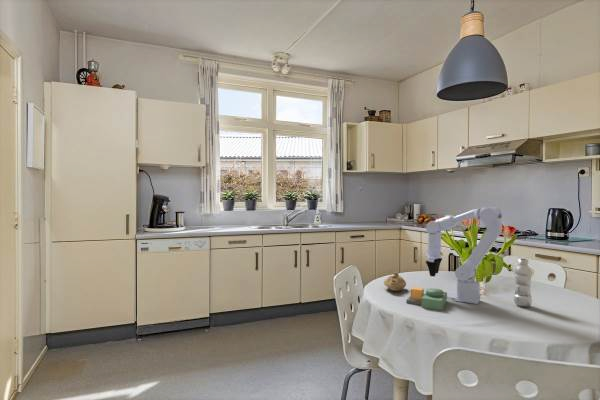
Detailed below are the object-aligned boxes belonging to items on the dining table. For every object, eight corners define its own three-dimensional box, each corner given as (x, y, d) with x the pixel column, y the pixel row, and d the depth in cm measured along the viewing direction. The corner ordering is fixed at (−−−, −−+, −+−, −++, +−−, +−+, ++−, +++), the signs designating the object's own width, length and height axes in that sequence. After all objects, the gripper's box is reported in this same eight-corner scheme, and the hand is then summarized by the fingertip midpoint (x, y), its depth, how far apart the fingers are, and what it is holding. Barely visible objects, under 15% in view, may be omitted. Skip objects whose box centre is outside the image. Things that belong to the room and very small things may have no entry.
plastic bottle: (523, 309, 149) (524, 261, 149) (510, 304, 155) (510, 258, 155) (535, 307, 151) (536, 260, 150) (521, 303, 157) (522, 257, 157)
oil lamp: (385, 294, 172) (385, 277, 172) (382, 286, 187) (382, 270, 187) (409, 294, 171) (409, 278, 170) (404, 286, 185) (404, 271, 185)
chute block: (423, 301, 160) (423, 288, 160) (421, 304, 157) (421, 290, 156) (412, 299, 163) (412, 286, 163) (410, 302, 159) (410, 288, 159)
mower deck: (446, 301, 160) (446, 288, 160) (441, 310, 148) (441, 295, 148) (412, 296, 168) (412, 283, 167) (404, 304, 156) (404, 290, 155)
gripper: (428, 243, 179) (428, 270, 179) (422, 247, 167) (422, 276, 167) (443, 244, 176) (443, 272, 176) (438, 248, 163) (438, 278, 163)
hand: (434, 274), depth 171 cm, fingers open, 7 cm apart
